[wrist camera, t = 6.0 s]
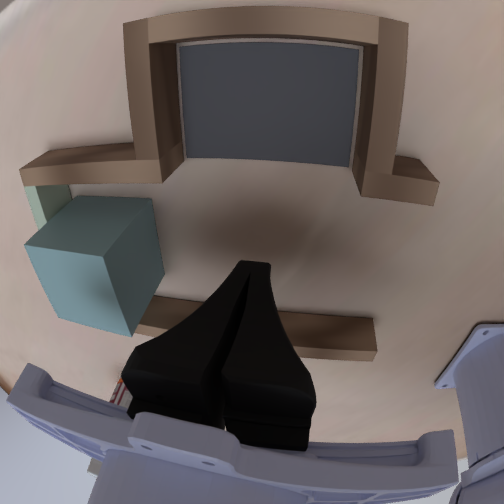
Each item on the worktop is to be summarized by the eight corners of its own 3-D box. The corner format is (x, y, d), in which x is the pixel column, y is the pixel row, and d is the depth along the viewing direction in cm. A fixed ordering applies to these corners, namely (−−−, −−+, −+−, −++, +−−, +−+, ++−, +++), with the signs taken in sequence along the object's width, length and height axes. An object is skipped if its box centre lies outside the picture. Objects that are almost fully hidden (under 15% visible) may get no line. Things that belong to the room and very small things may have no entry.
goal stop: (63, 166, 15) (35, 185, 13) (101, 287, 20) (84, 312, 18) (51, 167, 15) (23, 186, 13) (90, 285, 20) (73, 309, 18)
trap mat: (358, 49, 10) (358, 50, 10) (348, 166, 13) (348, 167, 13) (180, 46, 10) (179, 46, 10) (187, 157, 14) (186, 157, 13)
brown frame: (434, 39, 8) (461, 39, 6) (368, 329, 18) (372, 361, 16) (33, 60, 11) (0, 69, 9) (94, 295, 21) (78, 319, 19)
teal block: (152, 197, 15) (102, 256, 11) (165, 273, 18) (131, 337, 14) (78, 194, 16) (24, 244, 12) (97, 263, 19) (58, 317, 15)
